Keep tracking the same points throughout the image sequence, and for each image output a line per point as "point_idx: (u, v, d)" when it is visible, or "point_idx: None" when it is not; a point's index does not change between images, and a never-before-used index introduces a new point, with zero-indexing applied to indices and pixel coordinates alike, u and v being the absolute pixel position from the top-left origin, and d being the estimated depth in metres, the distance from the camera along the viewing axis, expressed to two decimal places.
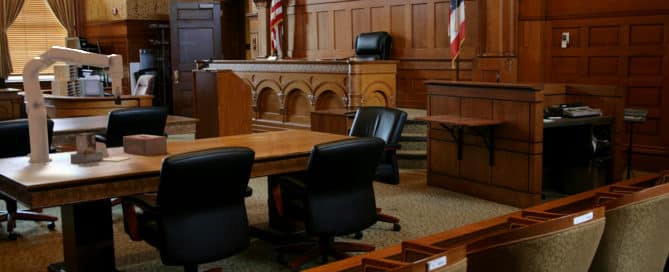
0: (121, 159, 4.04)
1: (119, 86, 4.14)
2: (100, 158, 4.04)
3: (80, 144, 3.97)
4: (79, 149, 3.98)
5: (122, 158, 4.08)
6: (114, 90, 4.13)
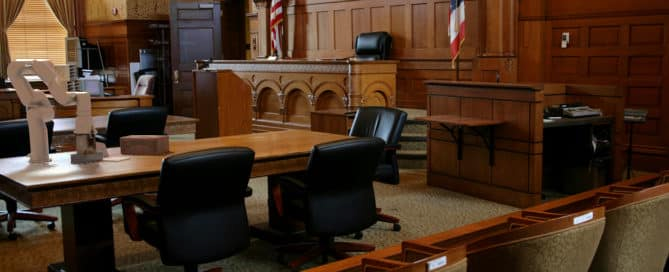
0: (121, 159, 4.04)
1: (93, 124, 3.99)
2: (100, 158, 4.04)
3: (79, 144, 3.97)
4: (79, 149, 3.98)
5: (122, 158, 4.08)
6: (90, 129, 3.97)
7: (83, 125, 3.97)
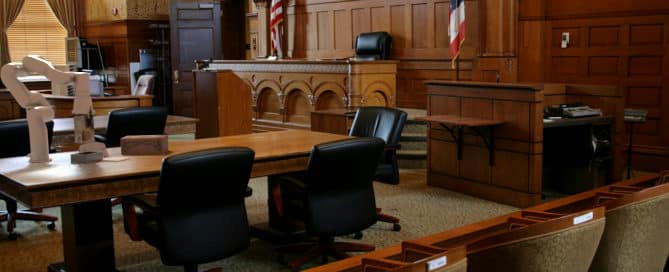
0: (121, 159, 4.04)
1: (91, 105, 3.98)
2: (100, 158, 4.04)
3: (77, 124, 3.96)
4: (76, 130, 3.97)
5: (122, 158, 4.08)
6: (88, 109, 3.95)
7: (81, 105, 3.96)
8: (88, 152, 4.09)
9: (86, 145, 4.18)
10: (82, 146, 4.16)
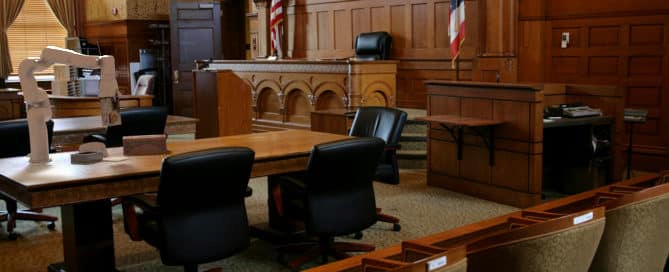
0: (121, 159, 4.04)
1: (117, 88, 4.02)
2: (100, 158, 4.04)
3: (104, 107, 3.99)
4: (103, 113, 4.00)
5: (122, 158, 4.08)
6: (114, 92, 3.99)
7: (107, 88, 3.99)
8: (88, 152, 4.09)
9: (86, 145, 4.18)
10: (82, 146, 4.16)
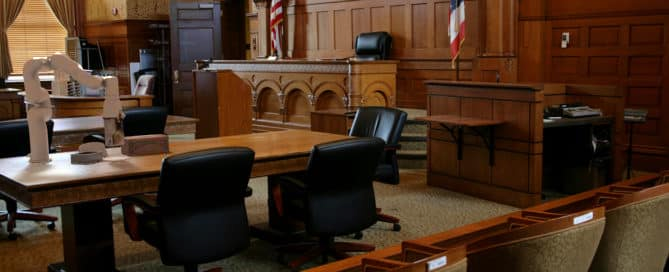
0: (121, 159, 4.04)
1: (121, 108, 4.03)
2: (100, 158, 4.04)
3: (108, 128, 4.01)
4: (107, 133, 4.02)
5: (122, 158, 4.08)
6: (118, 113, 4.01)
7: (111, 109, 4.01)
8: (88, 152, 4.09)
9: (85, 145, 4.18)
10: (82, 146, 4.16)
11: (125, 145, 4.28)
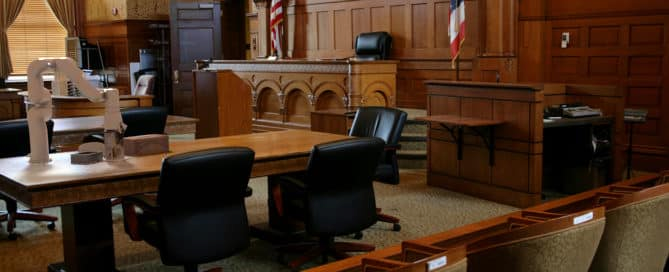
0: (121, 159, 4.04)
1: (121, 120, 4.04)
2: (100, 158, 4.04)
3: (108, 141, 4.02)
4: (107, 147, 4.03)
5: (122, 158, 4.08)
6: (118, 125, 4.02)
7: (112, 121, 4.02)
8: (88, 152, 4.09)
9: (85, 145, 4.18)
10: (82, 146, 4.16)
11: (129, 145, 4.26)
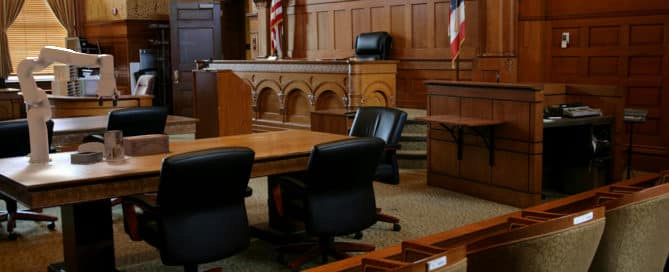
0: (121, 159, 4.04)
1: (115, 87, 4.02)
2: (100, 158, 4.04)
3: (108, 141, 4.02)
4: (107, 147, 4.03)
5: (122, 158, 4.08)
6: (112, 91, 4.00)
7: (106, 87, 4.00)
8: (88, 152, 4.09)
9: (85, 145, 4.18)
10: (81, 146, 4.16)
11: (126, 145, 4.27)
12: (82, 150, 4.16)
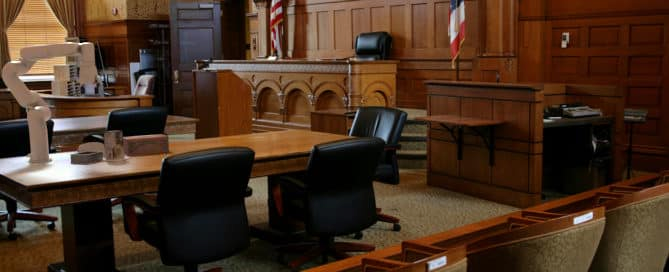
0: (121, 159, 4.04)
1: (96, 75, 4.03)
2: (100, 158, 4.04)
3: (108, 141, 4.02)
4: (107, 147, 4.03)
5: (122, 158, 4.08)
6: (93, 79, 4.00)
7: (87, 75, 4.00)
8: (88, 152, 4.09)
9: (85, 145, 4.18)
10: (81, 146, 4.16)
11: (125, 145, 4.29)
12: (82, 150, 4.16)
